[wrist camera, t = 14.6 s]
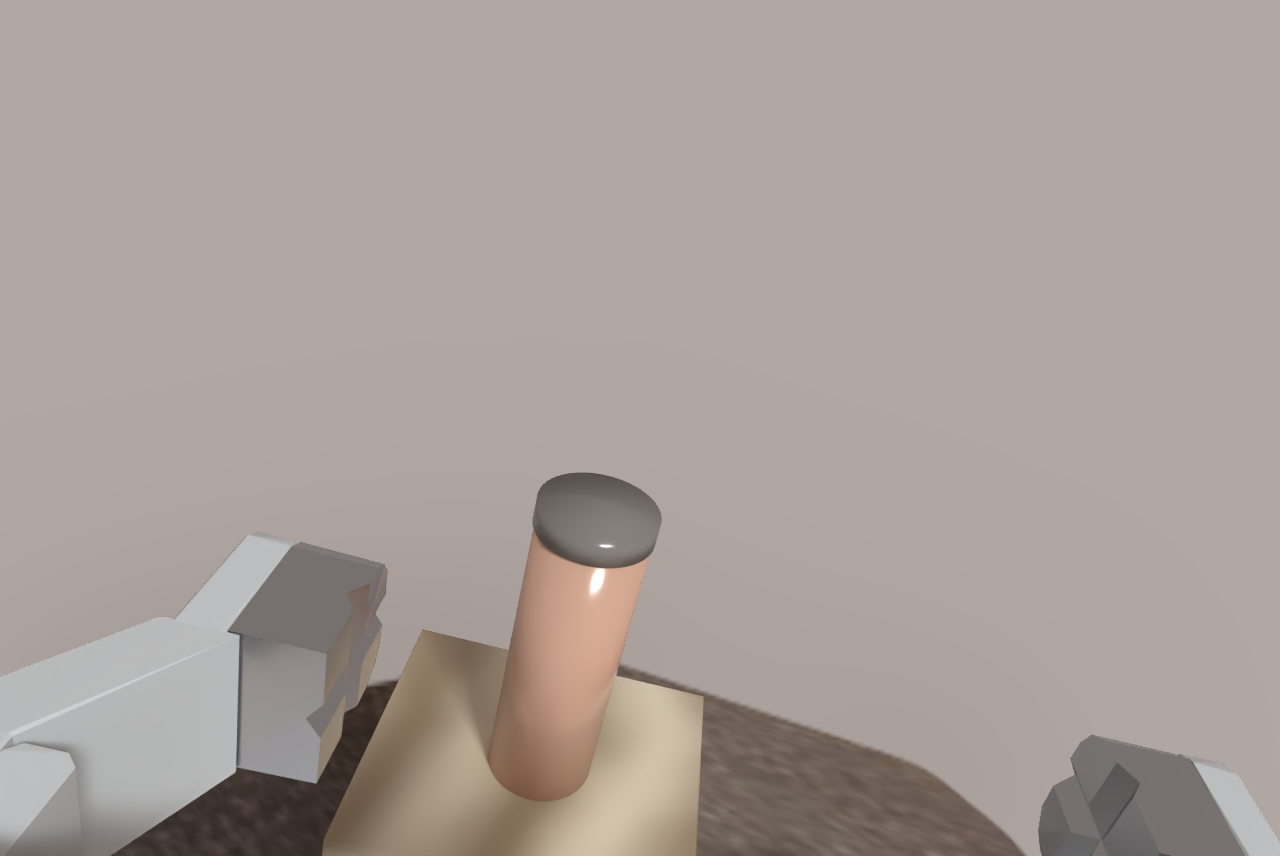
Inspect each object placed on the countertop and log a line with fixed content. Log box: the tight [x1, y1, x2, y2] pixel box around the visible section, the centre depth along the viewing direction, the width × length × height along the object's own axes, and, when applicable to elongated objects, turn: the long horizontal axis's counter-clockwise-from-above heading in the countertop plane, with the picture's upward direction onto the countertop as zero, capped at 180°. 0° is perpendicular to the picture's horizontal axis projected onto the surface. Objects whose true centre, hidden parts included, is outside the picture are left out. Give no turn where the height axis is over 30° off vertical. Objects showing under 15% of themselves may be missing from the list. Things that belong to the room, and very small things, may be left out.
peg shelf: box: [322, 630, 703, 856], centre depth 42 cm, size 14×12×10 cm
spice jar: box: [488, 473, 661, 801], centre depth 36 cm, size 5×5×13 cm
